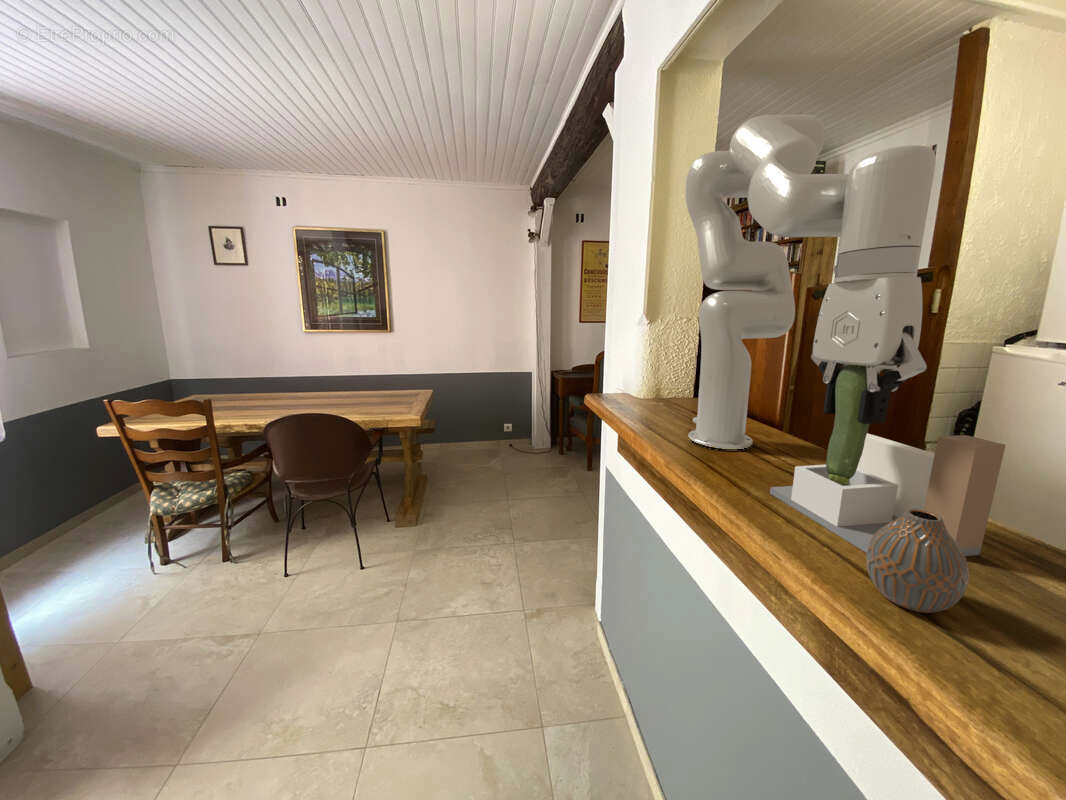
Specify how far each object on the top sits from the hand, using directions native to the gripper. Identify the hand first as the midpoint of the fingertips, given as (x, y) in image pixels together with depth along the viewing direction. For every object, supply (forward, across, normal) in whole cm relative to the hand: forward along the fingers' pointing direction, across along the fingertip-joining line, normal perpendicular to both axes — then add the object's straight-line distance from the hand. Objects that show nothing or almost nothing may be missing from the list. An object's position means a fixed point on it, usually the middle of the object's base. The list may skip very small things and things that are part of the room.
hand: (852, 416), depth 51 cm
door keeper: (+14, +1, +2) cm, 14 cm away
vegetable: (+10, 0, 0) cm, 10 cm away
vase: (+14, +15, -7) cm, 22 cm away
